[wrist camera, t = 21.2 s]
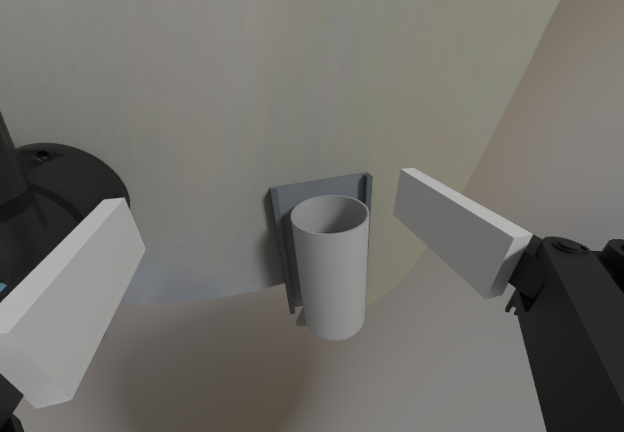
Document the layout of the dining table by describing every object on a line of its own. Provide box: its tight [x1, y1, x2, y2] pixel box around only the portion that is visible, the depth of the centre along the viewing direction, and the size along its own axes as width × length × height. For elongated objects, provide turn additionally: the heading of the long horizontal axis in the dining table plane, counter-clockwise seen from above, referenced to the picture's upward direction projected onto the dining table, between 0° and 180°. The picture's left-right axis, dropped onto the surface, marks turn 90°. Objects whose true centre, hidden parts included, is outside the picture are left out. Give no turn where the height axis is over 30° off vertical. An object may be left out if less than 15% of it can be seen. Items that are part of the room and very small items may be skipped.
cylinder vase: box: [291, 195, 369, 341], centre depth 48 cm, size 12×12×25 cm
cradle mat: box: [270, 172, 373, 314], centre depth 52 cm, size 30×18×2 cm, turn 4°
